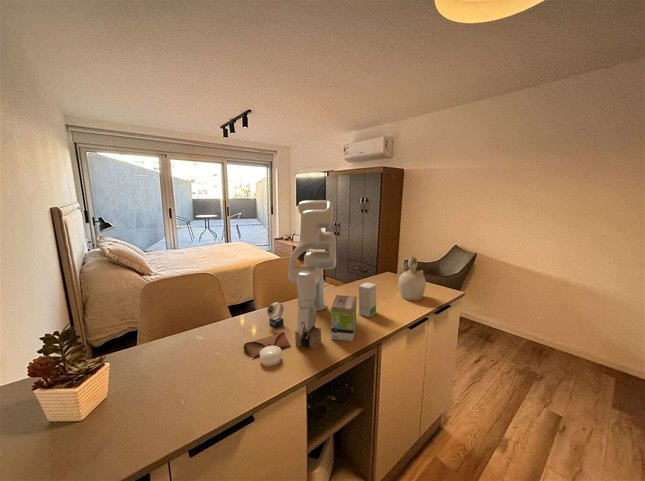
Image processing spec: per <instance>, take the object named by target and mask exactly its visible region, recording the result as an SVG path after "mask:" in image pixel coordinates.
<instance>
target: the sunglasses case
mask: <svg viewBox="0 0 645 481" xmlns="http://www.w3.org/2000/svg"><path fill="white" fill-rule="evenodd" d="M268 346H278V347H280V348H281V350H284V349H287V348H290V347H292V345H291V344H290V342H289V340H288V339H287V336H286V333H285V332H284V331H283V332H280V333H277V334H274V335H270V336H266V337H263V338H259V339H256V340H253V341H248V342H245V343H244V345H243V351H244V350H245V351H244V353H245V352H246V353H247V354H246V353H245V354H246V355H248V356H249V357H251V358H255V359H257V358H259V357H258V356H260V351H261V350H262V349H263V348H265V347H268ZM248 356H247V357H248ZM249 357H248V358H249ZM256 357H257V358H256Z"/></svg>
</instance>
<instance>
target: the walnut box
mask: <svg viewBox="0 0 645 481" xmlns="http://www.w3.org/2000/svg"><path fill="white" fill-rule="evenodd" d="M304 330H307V329H304ZM299 332H300V331H298V328H297V329H296V330H295V331H294V336H295V337H294V339H295V347H300V348H303V347H302V346H301V336H300V335H299ZM304 334H306V332H304ZM308 338H309V347H304V348H306V349H311V350H317V349H318V348H319V346H320V344H321V343H322V328H321V327H316V326H315V327H312V328H311V330H310V331H309V333H308Z"/></svg>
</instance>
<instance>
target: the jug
mask: <svg viewBox="0 0 645 481" xmlns="http://www.w3.org/2000/svg"><path fill="white" fill-rule="evenodd" d="M407 266H408V269H407ZM407 266H406V265H405V266H403V267H401V268H400V270H401V271H402V273H401V274H400V275H399V278H398V287H399V288H398V289H399V292H400V296H401V298H402V299H404V300H407V301H412V302H413V301H414V302H415V301H416V302H418V301H422V299H423V297H424V294H425V290H426V286H427V282H426V278H425V276H424V270H423V269H420V270H416V269H417V267H418V259H417V257H414V256H410V257H409V259H408V262H407Z"/></svg>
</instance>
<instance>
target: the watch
mask: <svg viewBox="0 0 645 481" xmlns="http://www.w3.org/2000/svg"><path fill="white" fill-rule="evenodd" d="M277 305H279V311H278V313H277V315H274V314H275V313H276V311H277V310H276V309H277ZM266 310H267V311H266V312H267V317H269V318H268V321H269V325H270V326H271V327H273V328H275V329H278V328H280V327H283V326H284V319H283V318H282V316H283V315H284V314H283V313H284V310H285V309H284V305H283V304H282V303H280V302H278V301H275V302H273V303H271V304H269V305H268V307H267V309H266ZM273 315H274V316H273Z"/></svg>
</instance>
